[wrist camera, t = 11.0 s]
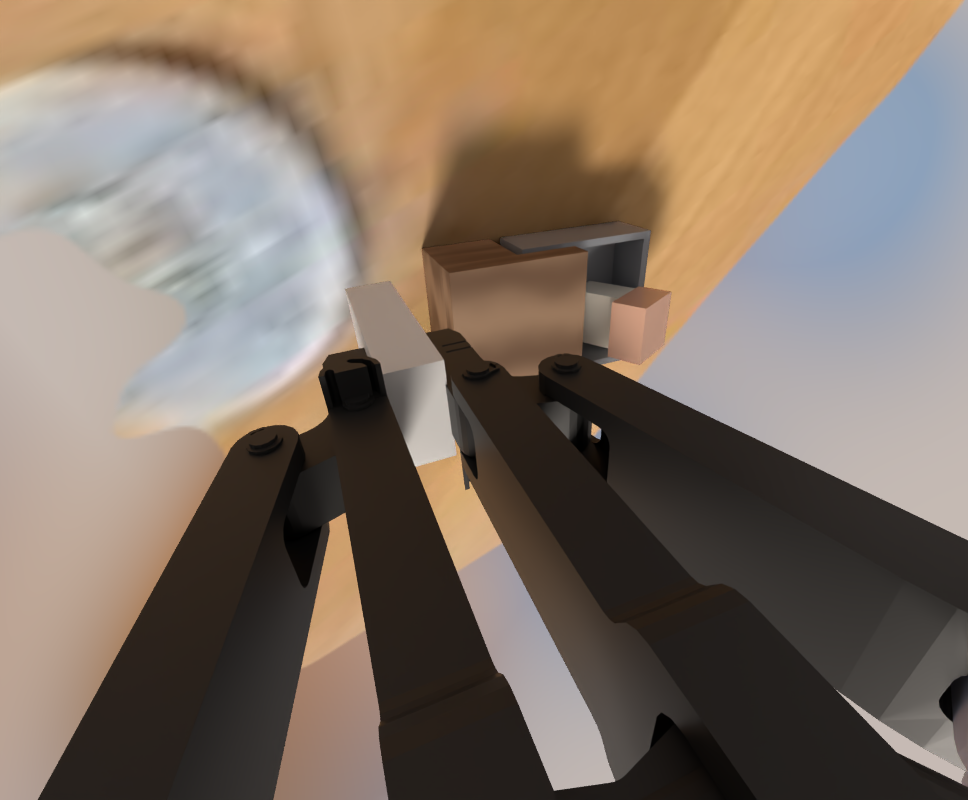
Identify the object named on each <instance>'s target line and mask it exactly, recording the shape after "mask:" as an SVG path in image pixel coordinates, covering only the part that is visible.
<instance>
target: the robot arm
mask: <svg viewBox="0 0 968 800" xmlns="http://www.w3.org/2000/svg"><path fill="white" fill-rule="evenodd" d="M345 291H346V295H347V299H348V304H349V308H350V312H351V317H352V321H353V325H354V329H355V334H356V338H357V342H358V347H359V349H355V350H350V351H345V352H341V353H336V354H331V355H328V357H327V358H326V360H325V361H324V363H323V364H322V365H323V369H322V370H321V371H320V373H319V376H318V378H319V381H320V384H321V388H322V391H323V395H324V398H325V402H326V405H327V408H328V413H329V414H328V416H327V418H326V419H325V420H324V421H323V422H322V423H320V424H319V425H318V426H316V427H315V428H313V429H311V430H309V431H307V432H305V433H302V434H300V435H299V434H298V432H297V431H296V430H295V429H294V428H292V427H289V426H285V425H273V426H268V427H262V428H259V429H256V430H253V431H251V432H249V433H248V434H246V435H245V436H243V437H242V438H240V439H239V440H238V441H237V442H236V443H235V444H234V445H233V446H232V448H231V449H230V451H229V453H228V455H227V457H226V458H225V460H224V462H223V464H222V466H221V468H220V469H219V471H218V473H217V475H216V477H215V478H214V480H213V482H212V484H211V486H210V487H209V489H208V491H207V493H206V495H205V497H204V498H203V500H202V502H201V504H200V506H199V507H198V509H197V511H196V513H195V515H194V517H193V519H192V520H191V522H190V524H189V526H188V528H187V529H186V531H185V533H184V535H183V537H182V538H181V541H180V542H179V544H178V546H177V547H176V549H175V551H174V553H173V555H172V557H171V558H170V560H169V562H168V564H167V566H166V567H165V569H164V571H163V573H162V575H161V577H160V578H159V580H158V582H157V584H156V586H155V587H154V589H153V591H152V593H151V595H150V597H149V598H148V600H147V602H146V604H145V606H144V608H143V609H142V611H141V613H140V615H139V617H138V619H137V620H136V622H135V624H134V626H133V628H132V629H131V631H130V633H129V635H128V637H127V638H126V640H125V642H124V644H123V646H122V647H121V649H120V651H119V653H118V655H117V657H116V659H115V660H114V662H113V664H112V666H111V667H110V669H109V671H108V673H107V675H106V677H105V678H104V680H103V682H102V684H101V686H100V687H99V689H98V691H97V693H96V695H95V697H94V698H93V700H92V702H91V704H90V706H89V708H88V709H87V711H86V713H85V715H84V717H83V718H82V720H81V722H80V724H79V726H78V728H77V729H76V731H75V733H74V735H73V737H72V738H71V740H70V742H69V744H68V746H67V747H66V749H65V751H64V753H63V755H62V757H61V759H60V760H59V762H58V764H57V766H56V767H55V769H54V771H53V773H52V775H51V777H50V779H49V780H48V782H47V784H46V786H45V788H44V789H43V791H42V793H41V795H40V797H39V798H38V800H273V798H274V793H275V789H276V784H277V779H278V775H279V770H280V765H281V760H282V756H283V751H284V746H285V741H286V736H287V731H288V727H289V722H290V718H291V713H292V708H293V703H294V698H295V693H296V689H297V684H298V679H299V675H300V670H301V665H302V661H303V656H304V651H305V646H306V642H307V637H308V632H309V627H310V623H311V618H312V613H313V608H314V604H315V599H316V594H317V589H318V585H319V580H320V575H321V570H322V565H323V561H324V556H325V551H326V546H327V542H328V537H329V532H330V530H329V521H331V520H333V519H334V518H336V517H338V516H340V515H342V514H343V513H345V512H346V518H347V524H348V529H349V535H350V541H351V547H352V553H353V558H354V564H355V570H356V576H357V582H358V588H359V593H360V599H361V605H362V611H363V617H364V622H365V628H366V634H367V640H368V646H369V651H370V657H371V663H372V669H373V675H374V680H375V686H376V692H377V698H378V704H379V710H380V720H381V722H380V725H379V741H380V749H381V756H382V763H383V769H384V775H385V781H386V787H387V793H388V800H968V540H966V539H964V538H961V537H959V536H957V535H955V534H953V533H951V532H949V531H947V530H945V529H943V528H941V527H939V526H936V525H934V524H932V523H930V522H928V521H926V520H924V519H922V518H920V517H918V516H915V515H913V514H911V513H909V512H907V511H905V510H903V509H901V508H899V507H897V506H895V505H893V504H890V503H888V502H886V501H884V500H882V499H880V498H878V497H876V496H874V495H872V494H870V493H868V492H865V491H863V490H861V489H859V488H857V487H855V486H853V485H851V484H849V483H847V482H845V481H842V480H840V479H838V478H836V477H834V476H832V475H830V474H827V473H826V472H824V471H822V470H819V469H817V468H815V467H813V466H811V465H809V464H807V463H805V462H803V461H800V460H799V459H797V458H794V457H792V456H790V455H788V454H786V453H784V452H782V451H780V450H778V449H776V448H774V447H772V446H769V445H767V444H765V443H763V442H761V441H759V440H757V439H755V438H753V437H751V436H749V435H746V434H744V433H742V432H740V431H738V430H736V429H734V428H732V427H730V426H728V425H726V424H724V423H721V422H719V421H717V420H715V419H713V418H711V417H709V416H707V415H705V414H703V413H701V412H698V411H696V410H694V409H692V408H690V407H688V406H686V405H684V404H682V403H680V402H678V401H675V400H673V399H671V398H669V397H667V396H665V395H663V394H661V393H659V392H657V391H655V390H653V389H650V388H648V387H646V386H644V385H642V384H640V383H638V382H636V381H634V380H632V379H630V378H628V377H625V376H623V375H621V374H619V373H617V372H615V371H613V370H611V369H609V368H607V367H605V366H602V365H600V364H598V363H596V362H594V361H592V360H590V359H588V358H585V357H582V356H579V355H573V354H569V353H563V354H556V355H554V356H550V357H547V358H546V359H544V360H542V361H541V362H540V364H539V365H538V375H531V376H511V375H510V373H509V372H508V371H507V370H506V369H505V368H504V367H503V366H502V365H500V364H499V363H496V362H492V361H484V360H483V359H482V358H481V357H480V356H479V355H478V354H477V352H476V351H475V350H474V349H473V348H472V347H471V345H470V344H469V343H468V342H467V341H466V339H465V338H464V337H463V336H462V335H461V333H459V332H456V331H454V330H452V329H449V328H447V329H442V330H438V331H433V332H428V333H425V331H424V330H423V329H422V327H421V326H420V324H419V323H418V321H417V320H416V318H415V317H414V315H413V314H412V312H411V311H410V309H409V308H408V306H407V305H406V304H405V302H404V301H403V299H402V298H401V296H400V295H399V293H398V292H397V290H396V289H395V287H394V286H393V284H392V283H391V282H390V281H386V282H381V283H375V284H370V285H364V286H359V287H353V288H348V289H345ZM592 423H593V424H595V425H597V426H598V427H599V428H601V439H597V438H596V437H594V436H592V435H591V428H592ZM455 440H456V442H457V444H458V446H459V448H460V453H461V461H462V469H463V476H464V484H465V490H467V489H470V487H469V481H470V482H471V484H472V485H473V487H474V489H475V491H476V493H477V495H478V497H479V499H480V501H481V503H482V505H483V507H484V509H485V510H486V512H487V514H488V516H489V518H490V520H491V522H492V524H493V526H494V528H495V530H496V532H497V533H498V535H499V537H500V539H501V541H502V543H503V545H504V547H505V549H506V551H507V553H508V555H509V557H510V558H511V560H512V562H513V564H514V566H515V568H516V570H517V572H518V574H519V576H520V578H521V579H522V581H523V583H524V585H525V587H526V589H527V591H528V593H529V595H530V597H531V599H532V601H533V602H534V604H535V606H536V608H537V610H538V612H539V614H540V616H541V618H542V620H543V622H544V624H545V626H546V628H547V629H548V631H549V633H550V635H551V637H552V639H553V641H554V642H555V645H556V647H557V649H558V651H559V652H560V654H561V656H562V658H563V660H564V662H565V664H566V666H567V668H568V670H569V672H570V673H571V676H572V677H573V679H574V681H575V683H576V685H577V687H578V689H579V691H580V693H581V695H582V696H583V698H584V700H585V702H586V704H587V706H588V708H589V710H590V712H591V714H592V716H593V718H594V720H595V722H596V724H597V726H598V729H599V731H600V734H601V736H602V740H603V744H604V748H605V752H606V755H607V759H608V762H609V765H610V768H611V770H612V773H613V776H614V778H615V782H611V783H605V784H599V785H591V786H584V787H577V788H570V789H564V790H557V791H554V790H553V788H552V785H551V783H550V781H549V778H548V776H547V773H546V771H545V768H544V766H543V763H542V761H541V759H540V756H539V754H538V751H537V749H536V746H535V744H534V742H533V739H532V737H531V734H530V732H529V729H528V727H527V725H526V722H525V720H524V717H523V715H522V712H521V710H520V707H519V705H518V703H517V700H516V698H515V696H514V694H513V691H512V689H511V687H510V685H509V683H508V681H507V680H506V678H505V677H504V675H503V674H501V673H498V671H497V670H496V668H495V666H494V664H493V662H492V659H491V657H490V654H489V652H488V649H487V647H486V644H485V642H484V639H483V637H482V634H481V632H480V629H479V627H478V624H477V622H476V619H475V616H474V614H473V611H472V609H471V606H470V604H469V601H468V599H467V596H466V594H465V591H464V589H463V586H462V584H461V581H460V579H459V576H458V573H457V571H456V568H455V566H454V563H453V561H452V558H451V556H450V553H449V551H448V548H447V546H446V543H445V540H444V538H443V535H442V533H441V530H440V528H439V525H438V523H437V520H436V518H435V515H434V513H433V510H432V508H431V505H430V503H429V500H428V497H427V495H426V492H425V490H424V487H423V485H422V482H421V480H420V477H419V475H418V472H417V470H416V467H417V466H420V465H424V464H427V463H431V462H434V461H438V460H441V459H445V458H448V457H452V456H455V455H457V454H456V447H455ZM835 689H836V690H838V691H839V692H840V693H842V694H843V695H844V696H846V697H847V698H849V699H850V700H851V701H853V702H854V703H856V704H857V705H858V706H860V707H861V708H862V709H864V710H865V711H867V712H868V713H869V714H871V715H872V716H873V717H875V718H876V719H878V720H879V721H881V722H882V723H884V724H886V725H887V726H889V727H890V728H892V729H893V730H895V731H897V732H898V733H900V734H901V735H903V736H905V737H906V738H908V739H909V740H911V741H913V742H914V743H916V744H917V745H919V746H921V747H922V748H924V749H926V750H927V751H929V752H931V753H933V754H935V755H937V756H939V757H940V758H942V759H944V760H946V761H948V762H950V763H951V764H953V765H955V766H957V767H959V768H961V769H962V770H964V771H966V772H965V773H964V777H963V779H962V784H960V783H958V782H956V781H954V780H952V779H950V778H948V777H946V776H944V775H942V774H940V773H938V772H936V771H934V770H931V769H929V768H927V767H925V766H923V765H921V764H919V763H917V762H915V761H913V760H911V759H909V758H907V757H905V756H903V755H901V754H899V753H897V752H895V750H894V749H893V748H892V747H891V746H890V745H889V744H888V743H887V742H886V741H885V740H884V739H883V738H882V737H881V736H880V735H879V734H878V733H877V732H876V731H875V730H874V729H873V728H872V727H871V726H870V725H869V724H868V723H867V721H866V720H865V719H864V718H863V717H862V716H860V714H859V713H858V712H857V711H856V710H855V709H854V708H853V707H852V706H851V705H850V704H849V703H848V702H847V701H846V700H845V699H844V698H843V697H842V696H841V695H840V694H839V693H838V692H837V691H836V690H835Z"/></svg>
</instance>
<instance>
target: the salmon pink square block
mask: <svg viewBox="0 0 968 800" xmlns="http://www.w3.org/2000/svg"><path fill="white" fill-rule="evenodd" d="M670 299H671V292H670V291H664V290H658V289H652V288H646V287H640V286H638V287H637V288H635V289H633V290H632V291H630V292H628V293H627V294H625V295H623V296H622V297H620V298H618V299H617V300H615V301H613V302H612V308H611V320H610V333H609V345H608V357H611V358H615V359H619V360H622V361H626V362H630V363H634V364H638V365H640V364H641V363H643V362H644V361H645V360H646V359H647V358H649V357H650V356H651V355H652V354H654V353H655V352H656V351H657V350H658V349H660V348H661V347H662V346H663V345H664V341H665V334H666V327H667V320H668V313H669V306H670Z"/></svg>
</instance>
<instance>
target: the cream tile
mask: <svg viewBox="0 0 968 800" xmlns="http://www.w3.org/2000/svg"><path fill="white" fill-rule="evenodd" d="M633 289H635V288H630V287H625V286H619V285H613V284H607V283H601V282H595V281H588V282H587V283H586V295H585V312H584V328H583V342H584V343H588V344H592V345H596V346H600V347H604V348H608V345H609V333H610V320H611V308H612V302H613V301H615V300H617V299H618V298H620V297H622V296H623V295H625V294H627V293H628V292H630V291H632V290H633Z"/></svg>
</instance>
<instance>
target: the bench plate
mask: <svg viewBox="0 0 968 800" xmlns="http://www.w3.org/2000/svg"><path fill="white" fill-rule="evenodd" d="M422 255H423V264H424V273H425V281H426V290H427V298H428V307H429V316H430V324H431V332H433V331H438V330H442V329H447V328H449V329H452V330H454V331H456V332H459V333H461V335H462V336H463V337H464V338H465V339H466V341H467V342H468V343H469V344H470V345H471V347H472V348H473V349H474V350H475V351H476V352H477V354H478V355H479V356H480V357H481V358H482V359H483V360H484V361H492V362H496V363H499V364H500V365H502V366H503V367H504V368H505V369H506V370H507V371H508V372H509V373H510V375H511V376H531V375H538V365H539V364H540V362H541V361H542V360H544V359H546V358H547V357H550V356H554V355H556V354H563V353H569V354H573V355H579V356H582V345H583V328H584V312H585V295H586V278H587V261H588V251H585V250H583V249H581V248H578V247H576V246H572V247H565V248H559V249H552V250H545V251H539V252H532V253H525V254H519V255H516V254H515V253H513V252H511V251H509V250H508V249H506V248H504V247H502V246H501V245H499V244H497V243H495V242H494V241H492V240H490V239H486V240H478V241H471V242H464V243H457V244H450V245H443V246H435V247H428V248H422Z"/></svg>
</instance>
